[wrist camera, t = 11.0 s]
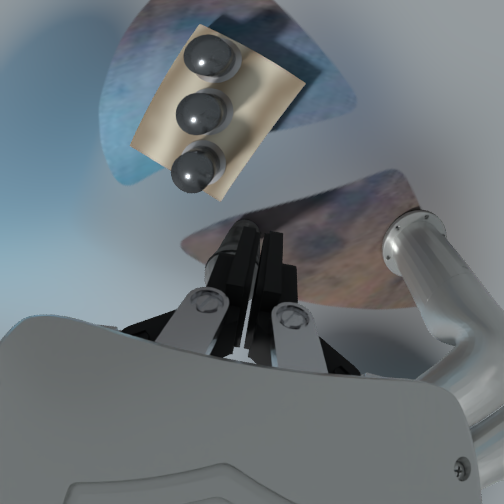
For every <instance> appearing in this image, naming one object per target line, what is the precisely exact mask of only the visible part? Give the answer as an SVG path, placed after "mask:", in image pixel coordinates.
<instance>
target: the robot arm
mask: <svg viewBox="0 0 504 504" xmlns="http://www.w3.org/2000/svg"><path fill="white" fill-rule="evenodd" d="M396 226H397V227H396ZM260 234H261V232H256V228H252V227H247V226H244V227H243V230H242V234H241V237H240V240H239V243H238V247H237V250H236V253H235V255H234V254H229V253H223V252H220V253H219V255H218V257H217V260H216V263H215V265H214V268H213V270H212V273H211V275H210V278H209V281H208V283H207V286H206V287H200V288H196V289H194V290H192V291H190V293H188V294H187V296H186V297H185V299H184V300H183V301H182V303H181V304H180V306H179V307H178V309H176V310H173V311H170V312H168V313H165V314H162V315H159V316H156V317H153V318H151V319H148V320H145V321H143V322H139V323H136V324H133V325H131V326H128V327H126V328H124V329H123V330H122V331H121V330H118V328H117V327H113V326H104V325H96V324H92V323H89V322H86V321H83V320H79V319H75V318H70V317H66V316H59V315H34V316H29V317H26V318H24V319H22V320H21V321H19V322H18V323H17V324H16V325H14V327H12V328H11V329H10V330H9V331H8V332H7V334H6V335H5V336H4V337H3V338H2V339H1V341H0V504H482V497H481V490H482V489H484V488H486V487H488V486H490V485H492V484H494V483H496V482H499V481H502V480H504V406H503V407H502V408H500V409H499V410H497V409H498V408H499V407H501V406H502V405H503V404H504V311H503V309H502V308H501V307H500V306H499V305H498V304H497V302H496V301H495V300H494V299H493V297H492V296H491V295H490V294H489V292H488V291H487V289H486V288H485V287H484V285H483V284H482V283H481V281H480V280H479V279H478V277H477V276H476V275H475V273H474V272H473V271H472V270H471V268H470V267H469V266H468V265H467V263H466V262H465V261H464V260H463V258H462V257H461V256H460V255H459V253H458V252H457V251H456V250H455V249H454V248H453V246H452V245H451V244H450V243H449V242H448V241H447V239H446V230H445V227H444V225H443V223H442V221H441V220H440V219H439V218H438V217H437V216H436V215H435V214H433V213H431V212H429V211H425V210H414V211H411V212H408V213H406V214H404V215H402V216H401V217H399V218H398V219H397V220H396V221H395V222H394V223H393V224H392V225H391V226H390V227H389V229H388V230H387V232H386V234H385V236H384V240H383V243H382V256H383V259H384V261H385V263H386V266H387V267H388V268H389V270H390V271H392V272H393V273H394V274H396V275H399V276H402V277H403V279H404V281H405V283H406V285H407V287H408V289H409V291H410V293H411V295H412V297H413V299H414V301H415V303H416V305H417V307H418V309H419V311H420V313H421V316H422V318H423V320H424V322H425V324H426V326H427V329H428V330H429V332H430V333H431V334H432V336H433V337H434V338H436V339H437V340H439V341H441V342H443V343H446V344H449V345H453V346H455V347H454V348H453V349H452V350H451V351H450V352H449V353H448V354H447V355H446V356H445V357H444V358H443V359H442V360H440V361H439V362H438V363H436V364H435V365H434V366H433V367H431V368H430V369H429V370H427V371H426V372H425V373H423V374H422V375H420V376H419V377H418V378H417V379H415V380H411V379H400V378H386V377H381V376H378V375H374V374H370V373H365V374H364V375H362V374H360V372H359V371H358V369H357V368H355V366H354V365H352V364H351V363H350V362H349V361H348V360H346V359H345V358H344V357H343V356H342V355H340V354H339V353H338V352H337V351H336V350H334V349H333V348H332V347H331V346H330V345H329V344H327V343H326V342H325V341H324V340H323V339H322V338H320V337H319V336H318V332H317V329H316V325H315V321H314V318H313V316H312V314H311V312H310V311H309V310H308V309H307V308H305V307H304V306H302V305H299V304H298V295H297V269H296V266H293V265H288V264H282V256H283V233H279V232H273V231H270V234H266V233H265V235H264V240H263V245H262V250H261V255H260V260H259V265H258V270H257V275H256V280H255V285H254V291H253V297H252V303H251V309H250V315H249V321H248V327H247V333H246V339H245V345H244V348H245V349H249V354H248V357H250V358H251V359H252V360H253V361H254V362H255V363H256V364H253V363H247V362H242V361H236V360H231V359H226V358H223V357H225V356H227V355H229V354H233V349H234V347H240V342H241V337H242V331H243V327H244V321H245V316H246V311H247V306H248V301H249V296H250V291H251V285H252V280H253V274H254V268H255V263H256V257H257V251H258V246H259V240H260ZM495 410H497V411H496V412H495V413H493V412H494V411H495ZM491 413H493V414H492V415H491V416H489V417H488V418H486V419H485V420H483V421H482V422H480V421H481V420H482V419H484V418H485V417H487V416H488V415H490V414H491ZM478 422H480V423H479V424H477V425H476V426H474V427H472V428H471V429H470V428H469V427H471V426H473V425H474V424H476V423H478Z"/></svg>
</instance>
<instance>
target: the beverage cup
mask: <svg viewBox="0 0 504 504" xmlns="http://www.w3.org/2000/svg"><path fill="white" fill-rule="evenodd" d="M244 226H247V227H252V228H256V232H259V229H258V227H257V225H256V224H255V223H254V222H252V221H250V220H239V221H237V222H236V223H235V224H234V225H233V226H232V228H231V229H230V230H229V232H228V234H227V235H226V237H225V239H224V240H223V242H222V244H221V245H220V247H219V249H218V250H217V251H216V252H215V253H214V254H213V256H212V257H210V258H209V260H208V262H207V264H206V267H205V284H206V286H207V283H208V281H209V278H210V275H211V273H212V270H213V268H214V265H215V263H216V260H217V257H218V255H219V253H220V252H223V253H229V254H234V255H235V253H236V250H237V247H238V243H239V240H240V237H241V234H242V230H243V227H244ZM259 260H260V240H259V246H258V251H257V257H256V263H255V268H254V274H253V280H252V285H251V291H250V296H249V300H251V299H252V297H253V291H254V285H255V280H256V275H257V270H258V265H259Z"/></svg>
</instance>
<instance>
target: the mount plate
mask: <svg viewBox="0 0 504 504" xmlns="http://www.w3.org/2000/svg"><path fill="white" fill-rule="evenodd" d="M206 34H210V35H215V36H218V37H219V38H221V39H222V40H223V41H224V42H226V43H227V44H228V45H229V46H230V47H231V48H232V49H233V51H234V53H235V56H236V61H235V65H234V67H233V69H232V70H231V71H230V72H229V73H228V74H226V75H224V76H222V77H218V78H212V77H207V76H203V75H199V74H196V73H193V72H192V71H190V70H189V69H188V68H187V67H186V65H185V63H184V58H183V55H184V50H185V48H186V46H187V45H188V44H189V42H190V41H192V40H193V39H194V38H196V37H198V36H201V35H206ZM305 84H306V83H304V82H303V81H301V80H300V79H299V78H297V77H296V76H294V75H292V74H291V73H289V72H288V71H286V70H285V69H283V68H282V67H280V66H278V65H277V64H275V63H274V62H272V61H270V60H269V59H267V58H265V57H264V56H262V55H260V54H258V53H257V52H255V51H253V50H251V49H249V48H248V47H246V46H244V45H242V44H240V43H238V42H236V41H234V40H232V39H230V38H228V37H226V36H224V35H222V34H220V33H218V32H216V31H214V30H212V29H210V28H207V27H205V26H203V25H201V24H200V25H199V26H198V27H197V29H196V30H195V31H194V33H193V34H192V36H191V37H190V39H189V40H188V42H187V43H186V44H185V46H184V47H183V49H182V50H181V52H180V54H179V55H178V57H177V58H176V60H175V61H174V63H173V65H172V66H171V68H170V69H169V71H168V73H167V74H166V76H165V78H164V80H163V81H162V83H161V85H160V87H159V88H158V90H157V92H156V94H155V96H154V97H153V99H152V101H151V103H150V105H149V107H148V109H147V111H146V113H145V115H144V117H143V119H142V121H141V123H140V125H139V127H138V129H137V131H136V133H135V135H134V137H133V139H132V142H131V144H130V146H131V147H133V148H134V149H136V150H138V151H139V152H141V153H143V154H144V155H146V156H148V157H149V158H151V159H153V160H154V161H156V162H157V163H159V164H161V165H162V166H164V167H166V168H167V169H169V170H170V171H171V168H172V165H173V163H174V161H175V160H176V159H177V158H178V157H179V156H180V155H182V154H184V153H185V152H187V151H189V150H190V149H192V148H194V147H196V146H207V147H210V148H211V149H213V150H214V151H215V152H216V153H217V155H218V157H219V159H220V169H219V171H218V173H217V175H216V176H215V177H214V178H213V179H212V181H211V182H210V183H209V184H208V186H207V187H206V188H205V189H203V191H204V192H206V193H207V194H209V195H211V196H212V197H214V198H215V199H217V200H218V201H220V202H221V200H222V199H223V197H224V196H225V194H226V193H227V191H228V190H229V188H230V187H231V185H232V184H233V182H234V181H235V179H236V178H237V177H238V175H239V174H240V172H241V171H242V169H243V168H244V166H245V165H246V164H247V162H248V161H249V159H250V158H251V156H252V155H253V154H254V152H255V151H256V149H257V148H258V147H259V145H260V144H261V142H262V141H263V140H264V138H265V137H266V136H267V134H268V133H269V131H270V130H271V129H272V127H273V126H274V125H275V123H276V122H277V121H278V119H279V118H280V117H281V115H282V114H283V113H284V111H285V110H286V109H287V107H288V106H289V105H290V103H291V102H292V101H293V99H294V98H295V97H296V96H297V94H298V93H299V92H300V90H301V89H302V88H303V87H304V85H305ZM193 93H211V94H215V95H218V96H219V97H221V98H222V99H223V100H224V102H225V104H226V106H227V116H226V119H225V121H224V122H223V124H222V125H221V126H219V127H218V128H216V129H214V130H212V131H209V132H207V133H205V134H202V135H191V134H188V133H186V132H184V131H183V130H182V129H181V128H180V127H179V125H178V123H177V121H176V109H177V106H178V104H179V103H180V101H181V100H182V99H183V98H184V97H186V96H187V95H190V94H193Z"/></svg>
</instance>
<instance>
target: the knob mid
mask: <svg viewBox="0 0 504 504" xmlns="http://www.w3.org/2000/svg"><path fill="white" fill-rule="evenodd" d="M226 116H227V106H226V104H225V102H224V100H223V99H222V98H221V97H219V96H218V95H215V94H211V93H193V94H190V95H187V96H186V97H184V98H183V99H182V100H181V101H180V103H179V104H178V106H177V109H176V121H177V123H178V125H179V127H180V128H181V129H182V130H183V131H184V132H186V133H188V134H191V135H202V134H205V133H207V132H209V131H212V130H214V129H216V128H218V127H219V126H221V125H222V124H223V122H224V121H225V119H226Z"/></svg>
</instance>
